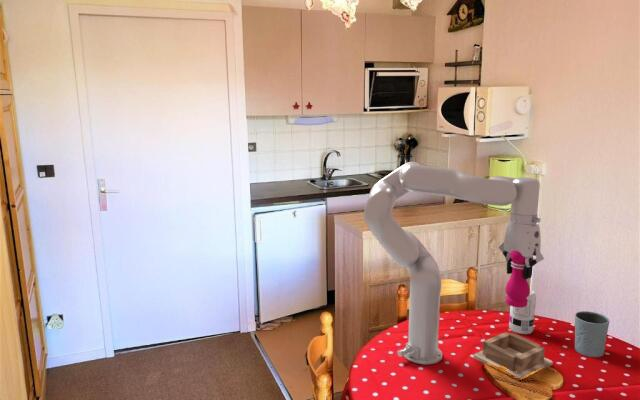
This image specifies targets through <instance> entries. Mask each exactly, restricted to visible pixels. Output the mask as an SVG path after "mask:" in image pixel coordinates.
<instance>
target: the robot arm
mask: <svg viewBox="0 0 640 400" xmlns="http://www.w3.org/2000/svg"><path fill="white" fill-rule="evenodd" d="M540 188H541V183H540V180H539V179H537V178H533V177H511V176H509V177H508V176H503V175H494V176H491V177H489V178H487V177H486V178H485V177H480V176H474V175H473V174H472V175H471V174H468V173H466V172H464V171H462V170H457V169H453V168H448V167H447V168H446V167H437V166H430V165H422V164H421V163H418V162H417V161H409V162H405V163H404V164H402V165H401V166H399V167H398V168H396V169H394V170H393V171H392V172H391V173H389V174H388V175H385V176H384V177H383V178H381V179H380V180H379V181H378V182H376V183H375V184H373V186H372V187H371V189H370V191H369V195H368V198H367V199H366V202H365V204H364V210H363V216H364V221H365V225H366V226H367V228H368V229H369V231H370V233H372V235H373V236H374V237H375V239H376V240H377V241H378V243H379V244H380V245H381V247H382V248H383V249H384V250H385V252H386V253H387V254H388V255H389V256H390V258H391V259H392V261H393V262H394V263H395V264H397V265H398V266H400V267H403V268H405V269H406V270H407V271H408V273H409V300H408V301H409V302H408V303H409V305H408V309H409V310H408V311H409V313H408V336H407V337H408V338H407V339H408V341H407V342H406V343H405V347H404V348H402V349H399V350H397V352H396V354H397V356H398V357H402V356H403V357H404V358H405V359H406V360H408V361H409V362H412V363H415V364H418V365H435V364H437V363H439V362H440V361H441V360H443V352H442V351H441V349H440V348H439V327H440V324H439V323H440V304H441V303H440V302H441V291H442V275H441V271H440V268H439V266H438V262H437V261H436V259H435V258H434V257H433V256H432V254H431V252H429V251H428V249H427V248H426V246H424V244H423V243H422V242H421V241H420V239H419V238H418V237H417V236H416V235H415V234H414V233H413V232H411V231H408V230H404V229H403V228H402V226H401V225H400V223H399V222H398V221H397V220H396V219H395V218H394V216H393V214H392V211H393V209H394V207H395V206H396V205H395V204H396V202H397V200H399V199H401V198H402V197H404V196H405V195H407V194H408V193H409V192H411V193H418V194H427V195H433V196H441V197H448V198H453V199H456V200H457V199H458V200H463V201H466V202H467V201H468V202H472V203H476V204H483V205H489V206H498V207H503V206H508V205H510V213H509V215H510V216H509V220H508V221H507V224H506V227H505V233H504V238H503V243H501V244H500V245H499V246H498V249H499V250H500V251H501V252H502V255H503V256H504V258H505V261H506V274H507V275H510V274H511V275H512V266H511V261H512V259H511V258H510V253H511V251H513V250H516V251H519V252H520V253H521V254H522V256H524V257H525V264H526V266H525V267H524V272H523V279H525V280H526V279H527V280H528V279H531V277H532V276H533V268H534V267H535V265H536V264H538V263H540V262H542V261H544V260H545V257H544V256H543V254H542V252H541V249H542V248H541V246H542V245H541V241H542V239H541V229H540V228H541V227H540V224H539V223H541V218H540V217H538V214H539V213H538V211H539V201H540V200H539V199H540V191H541V190H540ZM534 256H535V258H534ZM529 258H530V260H529Z"/></svg>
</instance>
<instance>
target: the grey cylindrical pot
mask: <svg viewBox="0 0 640 400" xmlns="http://www.w3.org/2000/svg"><path fill="white" fill-rule="evenodd" d="M609 326H610V319H609V318H608V317H607V316H606V315H603V314H601V313H598V312H594V311H586V310H585V311H577V312H575V314H574V329H575V330H574V336H575V337H574V350H575V351H576V352H577V353H579V354H580V355H583V356H586V357H590V358H601V357H602V356H604V354H605V349H606V341H607V335H608V332H609Z"/></svg>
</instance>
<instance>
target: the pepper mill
mask: <svg viewBox="0 0 640 400" xmlns="http://www.w3.org/2000/svg"><path fill="white" fill-rule="evenodd" d="M510 258H511V259H512V261H511V266H512V273H511V275H510V277H509V279H508V280H507V282H506V285H505V287H504V289H505V290H504V291H505V293H506V296H505V297H506V298H505V303H506V305H508V306H513V307H520V308H521V307H526V306H527V302H528V300H527V297H528V296H529V295H530V289H531V288H530V285H529V282H528V279H526V280H525V279H523V272H524V267H525V266H526V264H525V257H524V256H522V254H521V253H520V252H519V251H516V250H513V251H511V253H510ZM529 260H530V258H529Z"/></svg>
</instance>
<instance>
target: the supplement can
mask: <svg viewBox="0 0 640 400" xmlns="http://www.w3.org/2000/svg"><path fill="white" fill-rule="evenodd" d="M527 300H528V302H527V306H526V307H521V308H520V307H513V306H510V305H509V306H510V307H509V309H510V310H509V319H508V320H509V322H508V327H509V329H510V330H511V331H512V332H514V334H520V335H529V334H531V333H532V332H533V331H534V324H535V315H536V313H535V311H536V302H537V296H536V293H535V291H534V290H533V289H531V288H530V295H529V296H528V297H527Z"/></svg>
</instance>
